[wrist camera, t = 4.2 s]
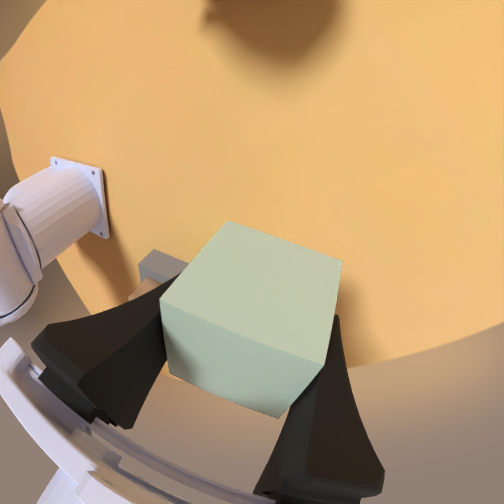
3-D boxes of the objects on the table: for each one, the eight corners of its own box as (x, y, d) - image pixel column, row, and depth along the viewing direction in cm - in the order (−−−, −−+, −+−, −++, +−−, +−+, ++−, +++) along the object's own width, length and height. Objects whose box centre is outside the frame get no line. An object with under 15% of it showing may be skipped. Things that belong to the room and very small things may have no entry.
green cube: (217, 299, 15) (169, 373, 11) (227, 220, 12) (159, 298, 8) (305, 333, 14) (278, 418, 10) (342, 260, 11) (324, 364, 7)
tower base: (162, 311, 32) (149, 328, 29) (156, 246, 26) (138, 263, 23) (238, 345, 30) (228, 365, 28) (253, 283, 24) (241, 307, 22)
